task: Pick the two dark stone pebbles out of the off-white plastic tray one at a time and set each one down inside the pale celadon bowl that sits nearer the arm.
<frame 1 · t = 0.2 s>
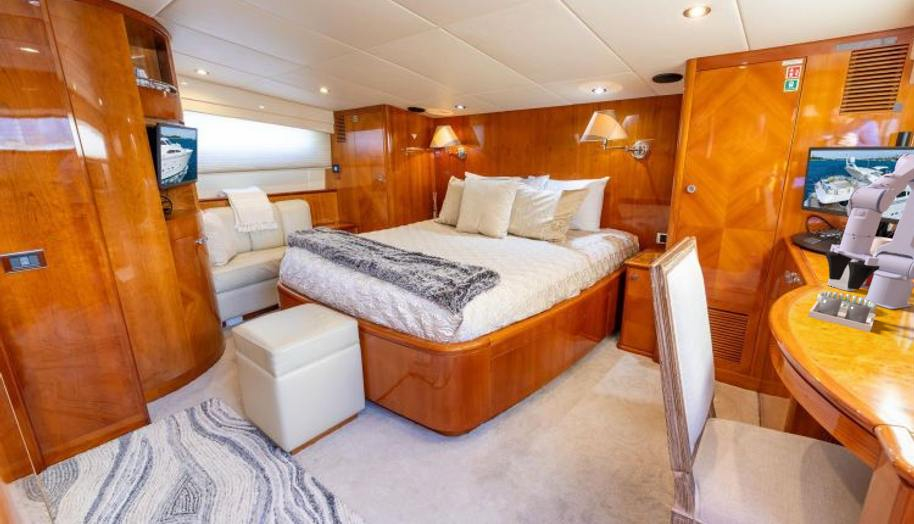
hand: (843, 283, 104), 10 cm above the table, tool pointing down, fingers open, 7 cm apart
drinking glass: (868, 279, 140), on the table
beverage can: (867, 287, 131), on the table
skincare box: (839, 288, 130), on the table
celadon bowl: (843, 307, 114), on the table
parts tray: (839, 320, 105), on the table
pebble slate: (827, 314, 107), point 1 cm above the table, touching parts tray
pebble charcoal: (854, 321, 103), point 1 cm above the table, touching parts tray
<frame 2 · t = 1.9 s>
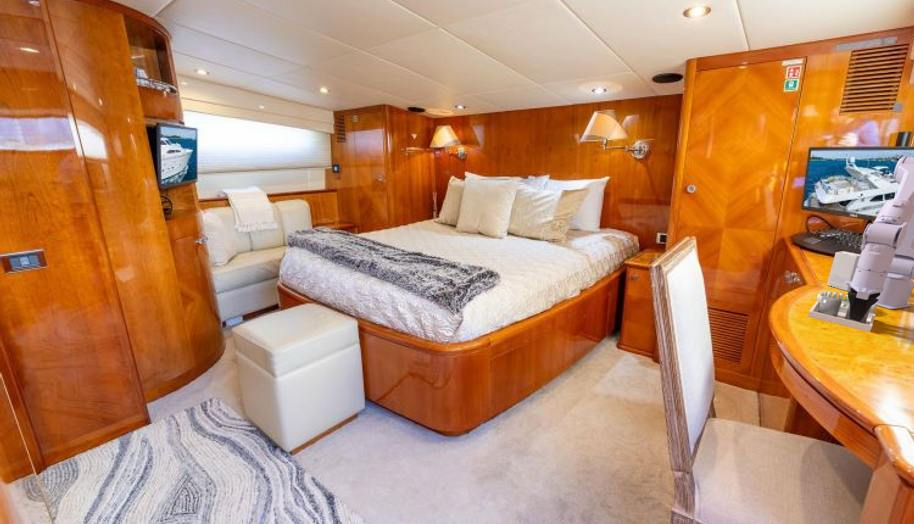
hand: (855, 317, 103), 2 cm above the table, tool pointing down, fingers closed on pebble charcoal, 4 cm apart
pebble charcoal: (854, 321, 103), point 1 cm above the table, touching gripper, parts tray
everything else where it was.
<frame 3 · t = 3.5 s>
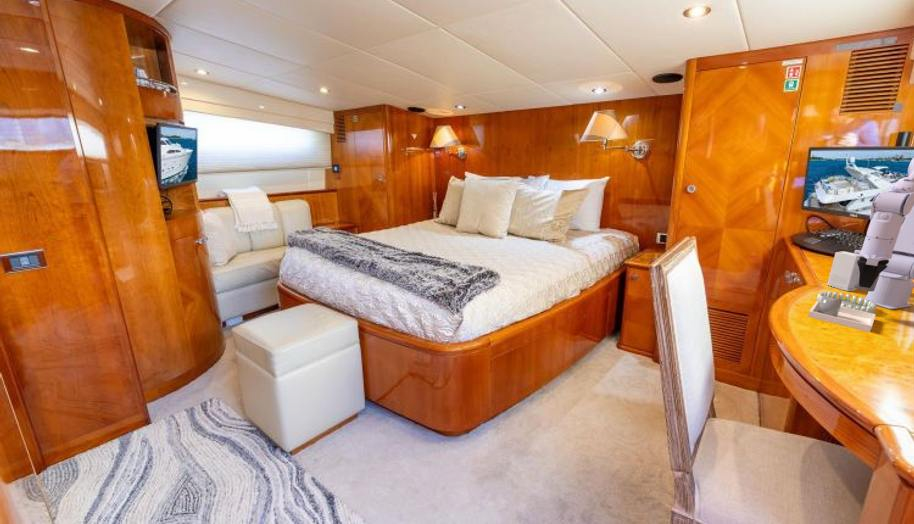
hand: (865, 285, 107), 9 cm above the table, tool pointing down, fingers closed on pebble charcoal, 4 cm apart
pebble charcoal: (863, 288, 107), point 8 cm above the table, touching gripper
everything else where it was.
when the fingers open (3 cm above the table, at t = 5.3 s): pebble charcoal drops 2 cm, resting on celadon bowl.
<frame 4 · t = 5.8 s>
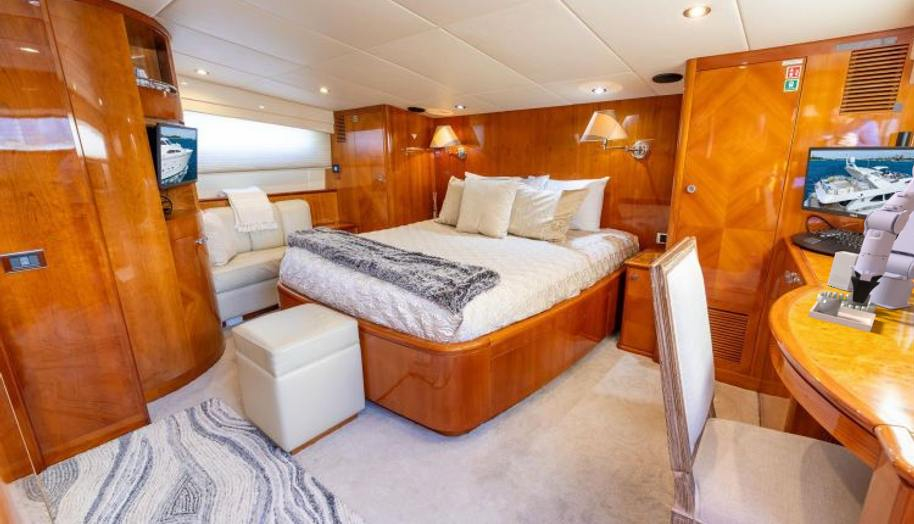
hand: (859, 299, 111), 3 cm above the table, tool pointing down, fingers open, 7 cm apart
pebble charcoal: (856, 308, 112), point 1 cm above the table, touching celadon bowl
everything else where it was.
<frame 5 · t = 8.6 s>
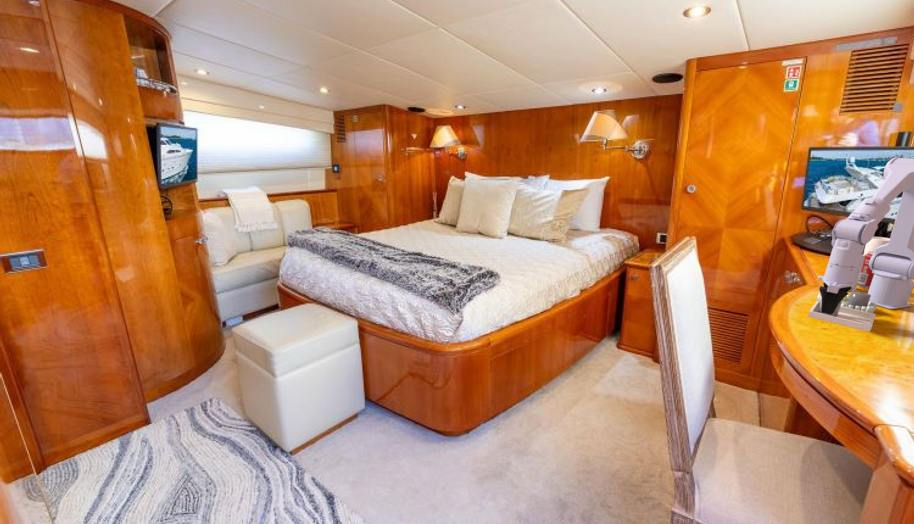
hand: (828, 311, 107), 2 cm above the table, tool pointing down, fingers closed on pebble slate, 4 cm apart
pebble slate: (827, 314, 107), point 1 cm above the table, touching gripper, parts tray
everything else where it was.
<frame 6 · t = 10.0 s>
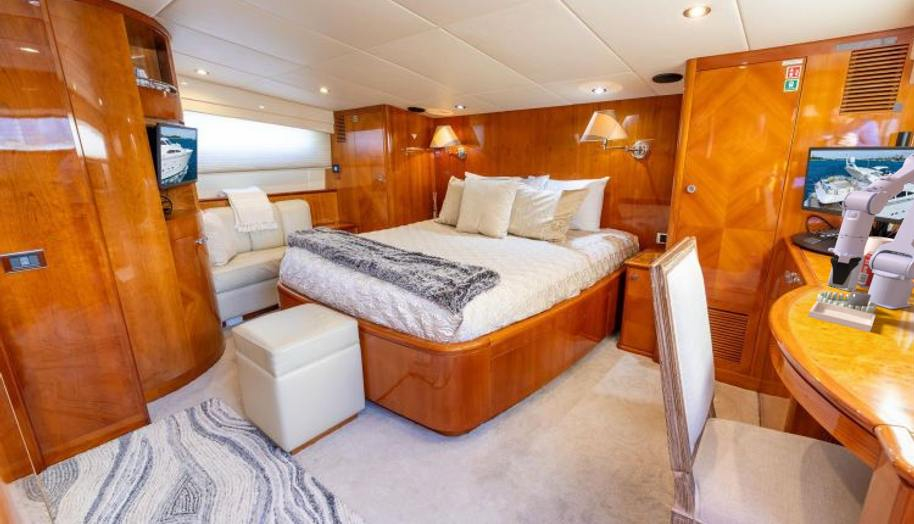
hand: (838, 282, 109), 9 cm above the table, tool pointing down, fingers closed on pebble slate, 4 cm apart
pebble slate: (837, 286, 109), point 8 cm above the table, touching gripper
everything else where it was.
when the fingers open (3 cm above the table, at t = 11.9 s): pebble slate drops 2 cm, resting on celadon bowl.
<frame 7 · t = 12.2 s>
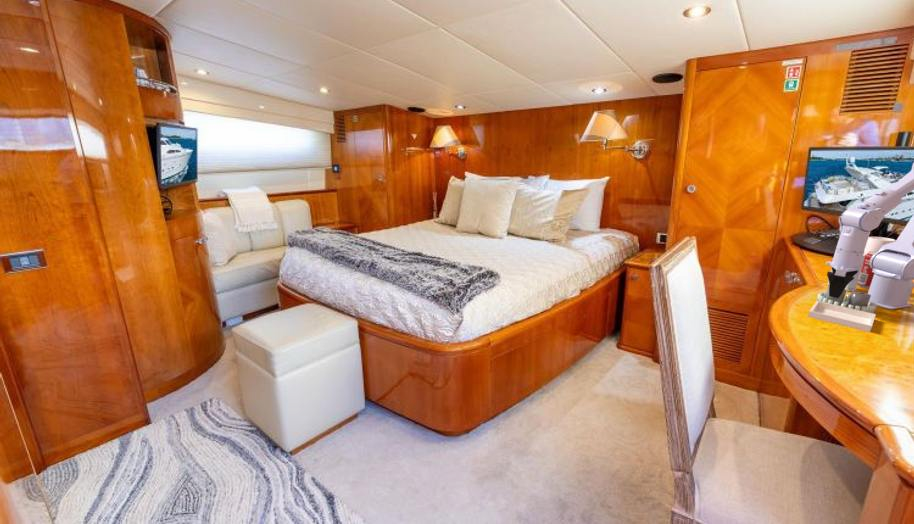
hand: (835, 294, 115), 3 cm above the table, tool pointing down, fingers open, 7 cm apart
pebble slate: (832, 302, 116), point 1 cm above the table, touching celadon bowl
everything else where it was.
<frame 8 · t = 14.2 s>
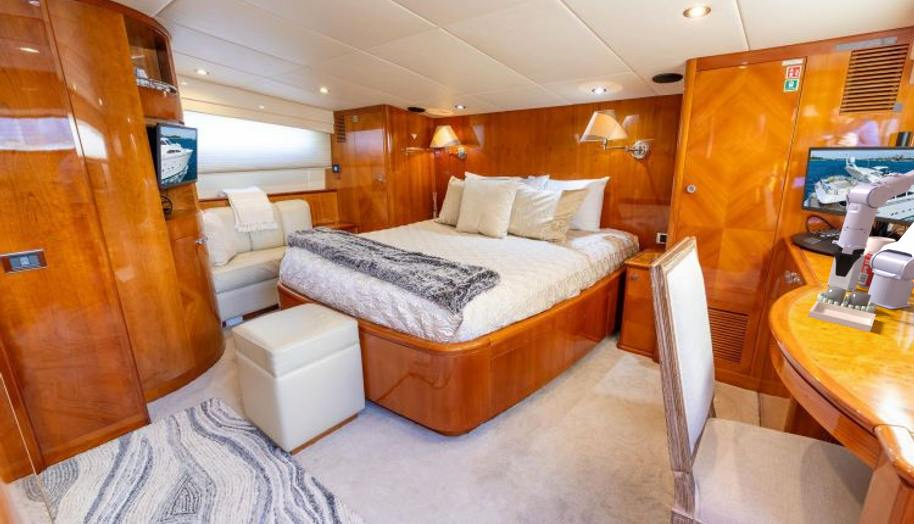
hand: (842, 273, 113), 10 cm above the table, tool pointing down, fingers open, 7 cm apart
nothing on the table moved.
at the end: pebble charcoal inside the target area on the celadon bowl (2.5 cm from its centre), point 0.6 cm above the celadon bowl's base; pebble slate inside the target area on the celadon bowl (2.5 cm from its centre), point 0.6 cm above the celadon bowl's base; the gripper is holding nothing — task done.
